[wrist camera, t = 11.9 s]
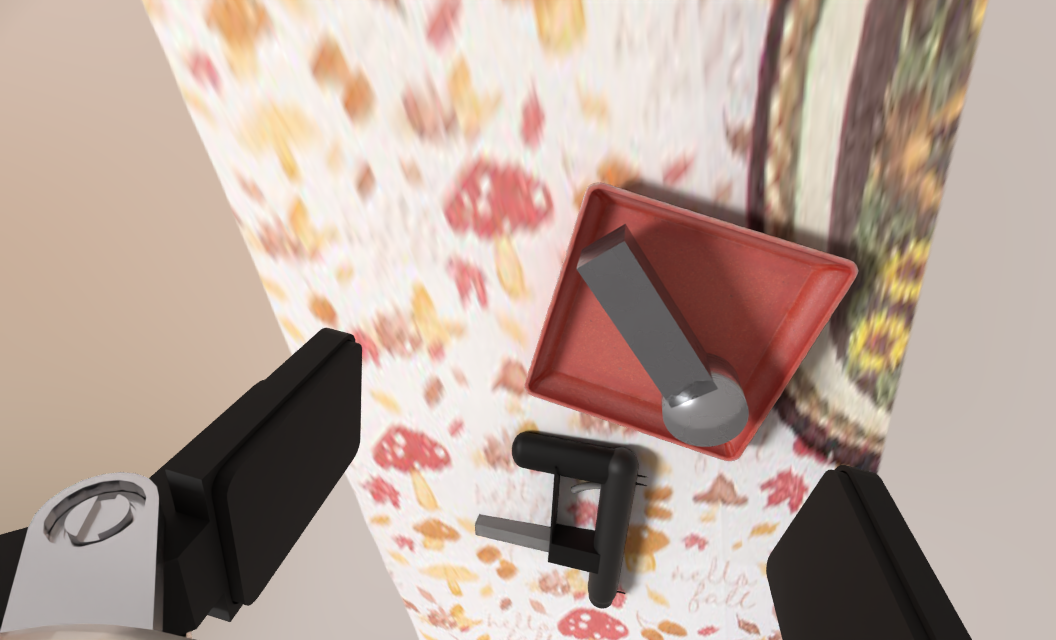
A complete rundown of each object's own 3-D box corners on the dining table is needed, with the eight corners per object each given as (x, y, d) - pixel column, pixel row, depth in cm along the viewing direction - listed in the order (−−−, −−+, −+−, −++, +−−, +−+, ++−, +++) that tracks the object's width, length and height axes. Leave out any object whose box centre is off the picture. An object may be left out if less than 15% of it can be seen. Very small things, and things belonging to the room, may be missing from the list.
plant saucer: (528, 372, 44) (520, 395, 41) (592, 169, 35) (588, 179, 32) (729, 438, 43) (736, 465, 41) (846, 246, 35) (865, 264, 32)
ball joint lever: (568, 257, 35) (561, 277, 32) (640, 214, 33) (640, 231, 30) (682, 425, 40) (686, 457, 37) (752, 397, 37) (763, 429, 34)
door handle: (474, 578, 55) (624, 616, 51) (469, 433, 45) (653, 470, 42) (484, 552, 58) (627, 587, 54) (481, 411, 48) (654, 443, 45)
